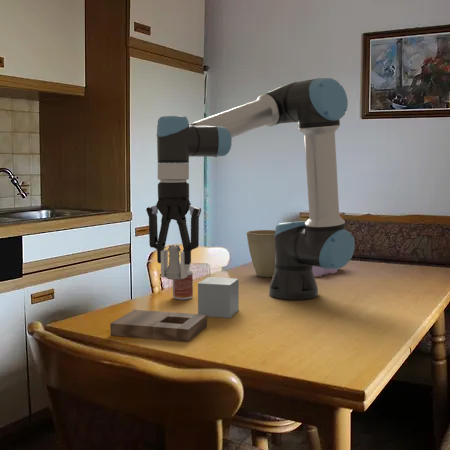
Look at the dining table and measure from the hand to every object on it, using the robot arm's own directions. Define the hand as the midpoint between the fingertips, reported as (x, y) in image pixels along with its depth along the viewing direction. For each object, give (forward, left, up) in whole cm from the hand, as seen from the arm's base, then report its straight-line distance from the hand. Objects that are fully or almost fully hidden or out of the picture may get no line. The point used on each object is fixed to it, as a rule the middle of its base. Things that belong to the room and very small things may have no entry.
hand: (174, 276), depth 152 cm
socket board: (+4, 0, -14) cm, 14 cm away
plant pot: (-6, -79, -14) cm, 81 cm away
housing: (-5, -21, -14) cm, 26 cm away
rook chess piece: (0, 0, 0) cm, 0 cm away
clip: (-23, -90, -14) cm, 94 cm away
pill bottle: (+11, -36, -14) cm, 40 cm away
